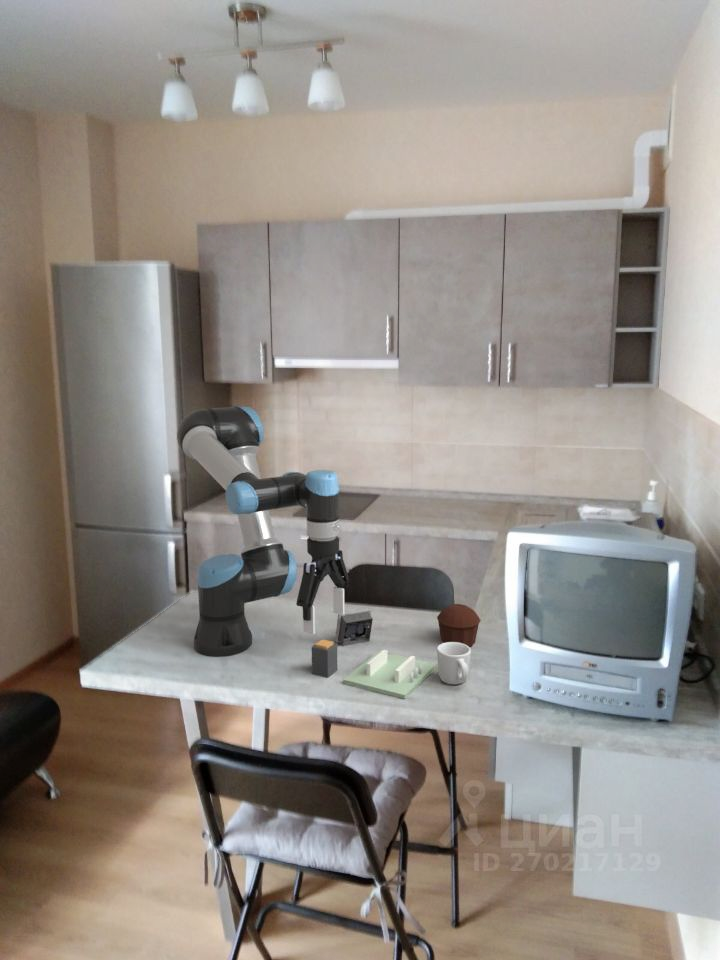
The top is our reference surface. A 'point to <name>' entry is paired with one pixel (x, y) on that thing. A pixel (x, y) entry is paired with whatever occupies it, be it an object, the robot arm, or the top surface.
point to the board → (390, 674)
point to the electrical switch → (354, 627)
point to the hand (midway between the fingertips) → (324, 622)
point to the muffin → (458, 624)
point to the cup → (453, 662)
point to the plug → (324, 658)
